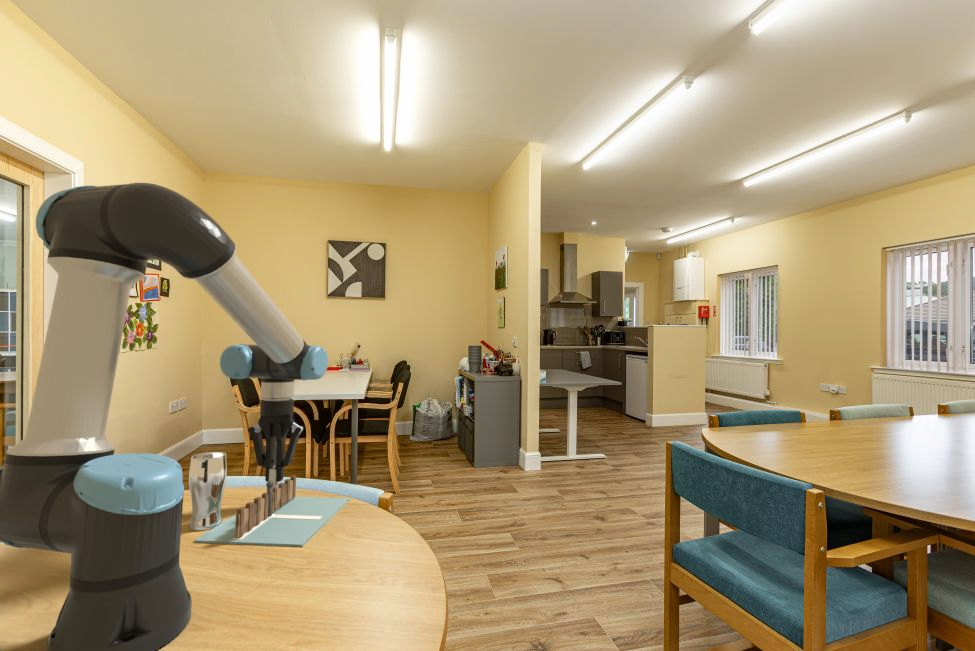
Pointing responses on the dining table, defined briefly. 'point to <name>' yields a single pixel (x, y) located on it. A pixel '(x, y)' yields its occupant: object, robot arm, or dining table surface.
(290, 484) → the fence panel
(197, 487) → the beer glass
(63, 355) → the robot arm
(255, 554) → the dining table surface
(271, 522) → the board
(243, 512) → the fence fixed
